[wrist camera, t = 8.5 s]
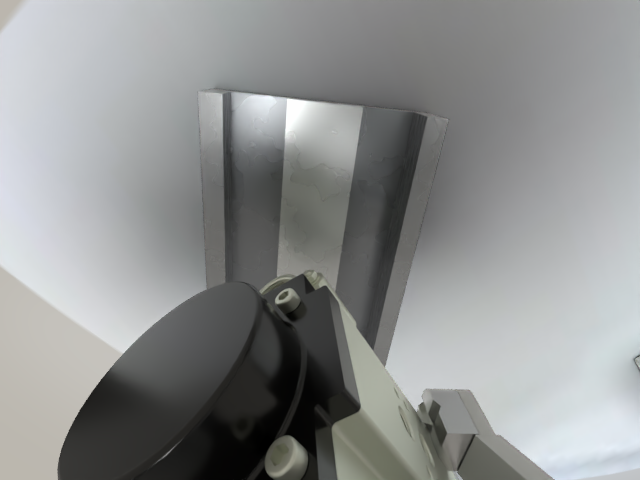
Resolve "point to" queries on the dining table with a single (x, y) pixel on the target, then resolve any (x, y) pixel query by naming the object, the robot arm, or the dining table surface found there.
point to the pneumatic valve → (251, 397)
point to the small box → (638, 361)
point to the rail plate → (317, 196)
